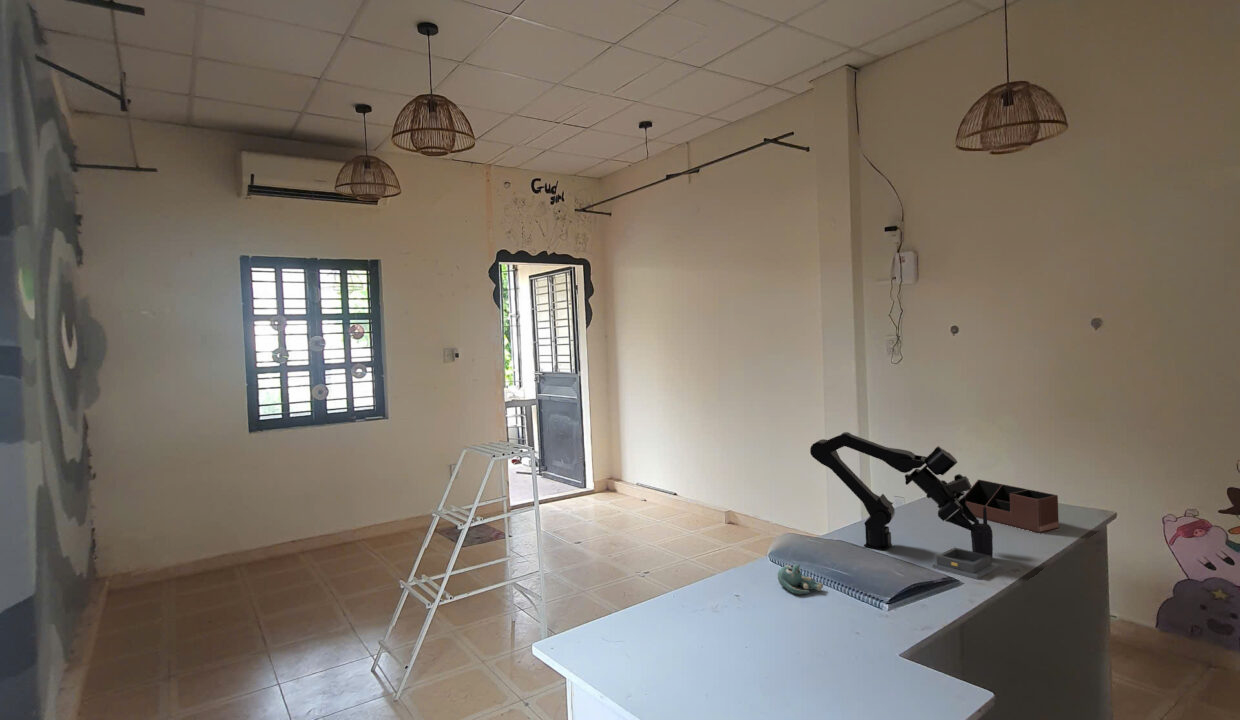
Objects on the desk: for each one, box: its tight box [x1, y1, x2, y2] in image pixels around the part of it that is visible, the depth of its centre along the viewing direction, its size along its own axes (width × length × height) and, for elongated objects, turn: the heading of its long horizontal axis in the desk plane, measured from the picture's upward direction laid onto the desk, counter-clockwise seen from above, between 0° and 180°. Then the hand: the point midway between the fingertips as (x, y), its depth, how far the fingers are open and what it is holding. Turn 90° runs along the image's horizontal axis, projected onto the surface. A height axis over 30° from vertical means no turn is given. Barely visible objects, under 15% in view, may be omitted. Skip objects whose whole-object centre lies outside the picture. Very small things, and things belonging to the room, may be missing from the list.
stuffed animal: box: [777, 563, 824, 595], centre depth 169 cm, size 11×7×12 cm
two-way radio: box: [970, 507, 994, 560], centre depth 183 cm, size 6×4×15 cm
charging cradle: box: [932, 547, 997, 580], centre depth 177 cm, size 12×11×4 cm
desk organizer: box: [964, 479, 1061, 535], centre depth 217 cm, size 10×29×11 cm, turn 23°
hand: (975, 525), depth 183 cm, fingers open, 9 cm apart
